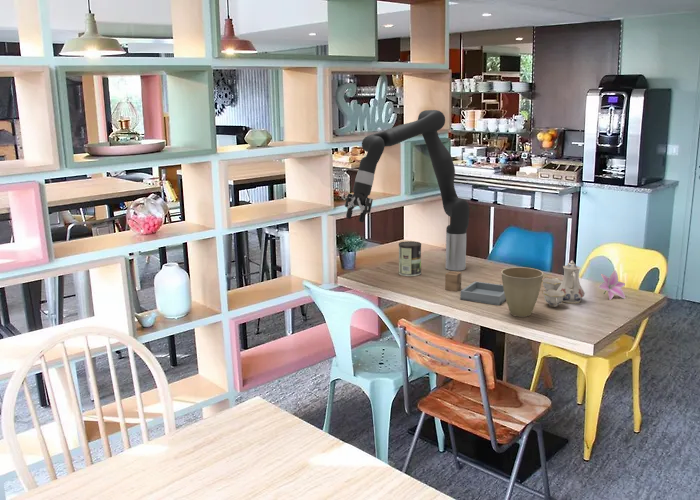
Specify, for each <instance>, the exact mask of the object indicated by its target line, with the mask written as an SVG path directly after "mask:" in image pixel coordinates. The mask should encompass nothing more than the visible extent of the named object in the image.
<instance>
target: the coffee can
mask: <svg viewBox="0 0 700 500" xmlns="http://www.w3.org/2000/svg"><path fill="white" fill-rule="evenodd" d="M421 274H422V242H419V241H415V240H414V241H412V240H407V241H406V240H405V241H401V242H400V241H399V243H398V275H400V276H403V277H418V276H419V275H421Z"/></svg>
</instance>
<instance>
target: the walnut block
mask: <svg viewBox="0 0 700 500" xmlns="http://www.w3.org/2000/svg"><path fill="white" fill-rule="evenodd" d="M444 279H445V282H444V283H445V285H444V286H445V289H444V290H445V291H450V292H451V291H452V292H455V293H456V292H458V291H461V290H462V272H461V271H460V272H459V271H453V270H449V271H448V272H446V273H445V278H444Z"/></svg>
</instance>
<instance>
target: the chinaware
mask: <svg viewBox="0 0 700 500" xmlns="http://www.w3.org/2000/svg"><path fill="white" fill-rule="evenodd" d="M562 267H563V277H562V280H560V278H558V277H555V278H554V277H552V278H549V277H545V278H542V285H543V289H545V290H542V295H543V298H544V301H545V302H546V303H547V304H549V305H548V306H549V307H551V308H557V307H558V306H559V305H560V304H561V303H565V304H579V303H581V302H582V301H581V300H582V299H583V297H584V296H585V293H586V292H585V291H584V289H583V287H582V285H581V282H580V277H579V276H580V275H579V273H580V269H581V267H580V266H578V265H577V264H576V263H575V262H574V260H573V259H572V260H570V262H568V263H567V265H562Z"/></svg>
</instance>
